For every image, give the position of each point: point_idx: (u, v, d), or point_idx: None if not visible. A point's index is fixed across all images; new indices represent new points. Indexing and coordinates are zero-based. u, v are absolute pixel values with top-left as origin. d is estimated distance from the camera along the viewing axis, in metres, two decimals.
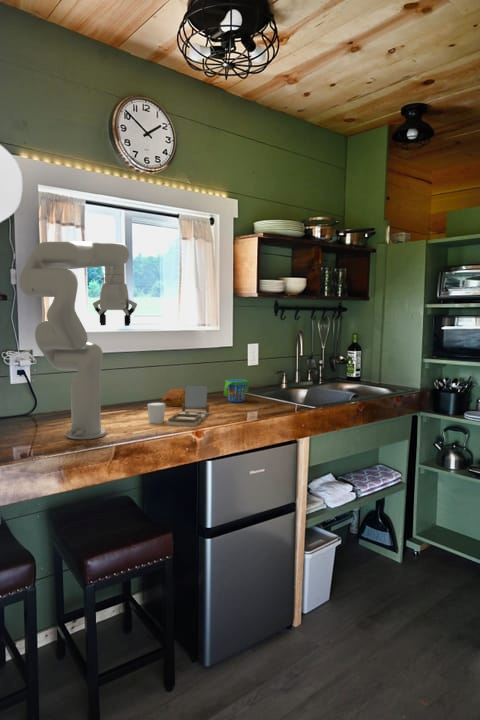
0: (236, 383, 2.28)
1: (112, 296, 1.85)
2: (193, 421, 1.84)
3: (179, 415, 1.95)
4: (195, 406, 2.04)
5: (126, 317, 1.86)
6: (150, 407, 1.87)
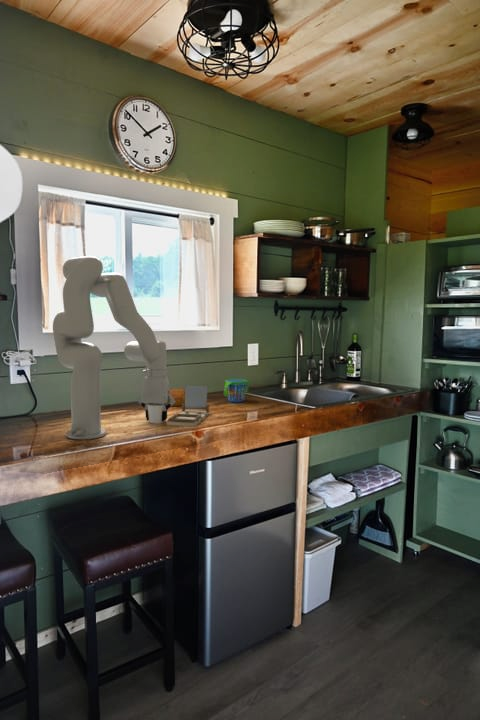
0: (236, 383, 2.28)
1: (154, 390, 1.86)
2: (193, 421, 1.84)
3: (179, 415, 1.95)
4: (195, 406, 2.04)
5: (163, 413, 1.88)
6: (150, 407, 1.87)
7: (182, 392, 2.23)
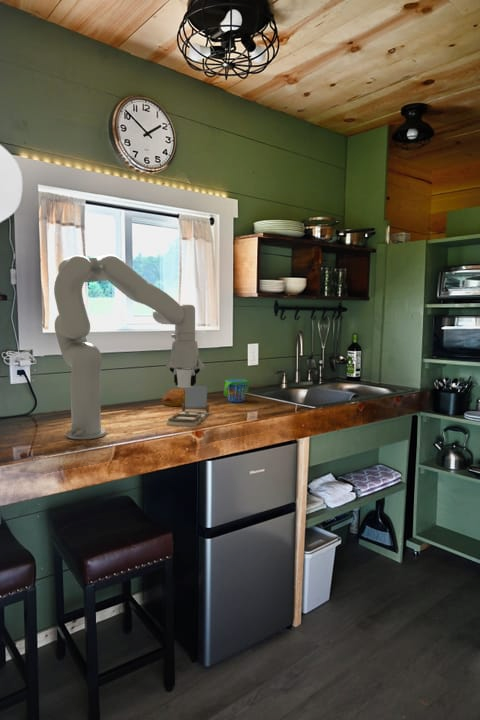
0: (236, 383, 2.28)
1: (183, 354, 1.85)
2: (193, 421, 1.84)
3: (179, 415, 1.95)
4: (195, 406, 2.04)
5: (192, 377, 1.86)
6: (179, 371, 1.85)
7: (182, 392, 2.23)
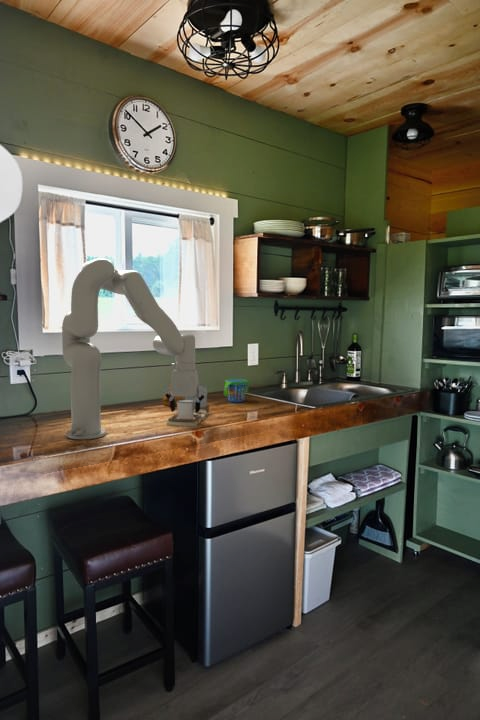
0: (236, 383, 2.28)
1: (184, 384, 1.86)
2: (193, 421, 1.84)
3: None
4: None
5: (197, 404, 1.87)
6: (180, 404, 1.86)
7: None
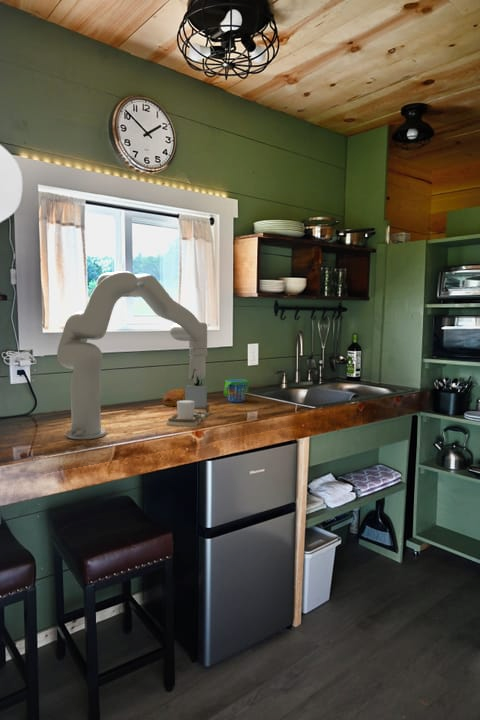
0: (236, 383, 2.28)
1: None
2: (193, 421, 1.84)
3: None
4: (195, 406, 2.04)
5: None
6: (180, 404, 1.86)
7: (183, 392, 2.23)
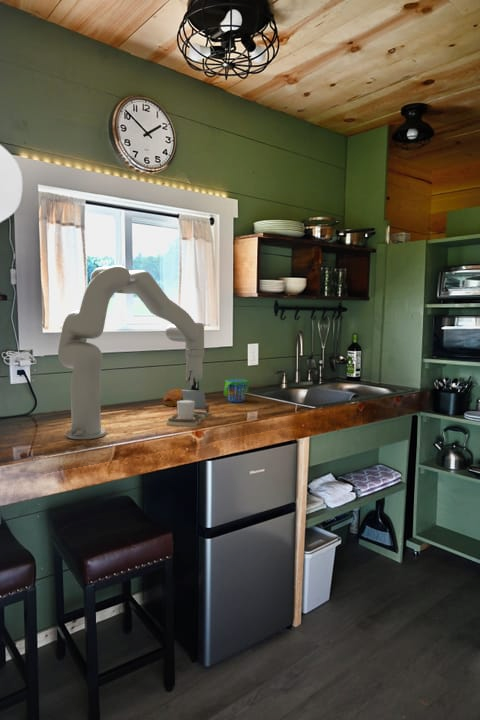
0: (236, 383, 2.28)
1: None
2: (193, 421, 1.84)
3: None
4: (195, 407, 2.04)
5: None
6: (180, 404, 1.86)
7: None
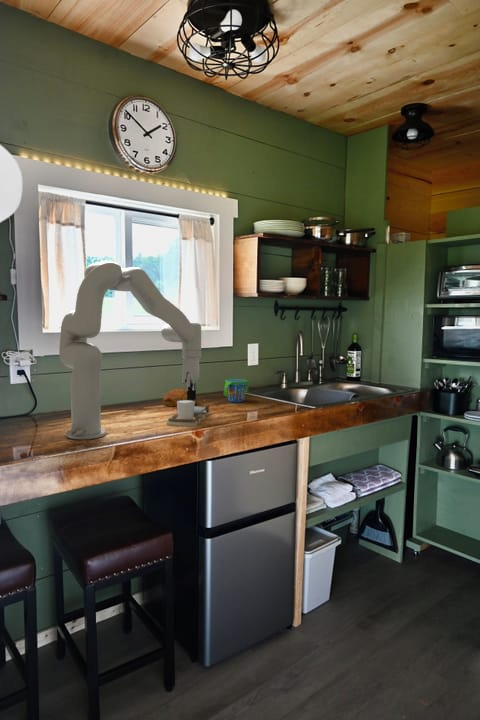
0: (236, 383, 2.28)
1: None
2: (193, 421, 1.84)
3: None
4: None
5: (188, 392, 1.97)
6: (180, 404, 1.86)
7: (183, 392, 2.23)
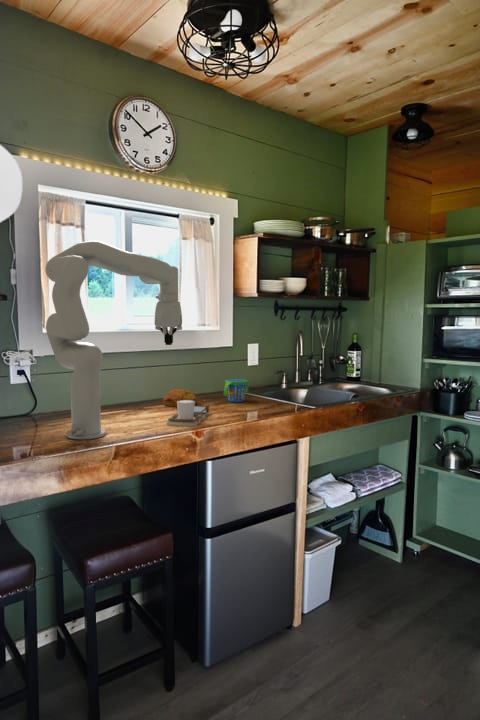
0: (236, 383, 2.28)
1: (167, 314, 1.92)
2: (193, 421, 1.84)
3: None
4: None
5: (169, 337, 1.94)
6: (180, 404, 1.86)
7: (183, 392, 2.23)
